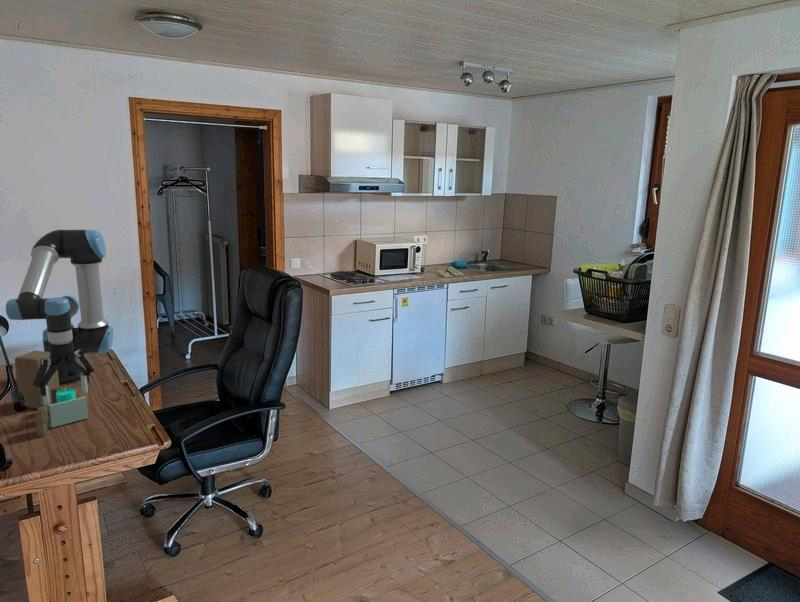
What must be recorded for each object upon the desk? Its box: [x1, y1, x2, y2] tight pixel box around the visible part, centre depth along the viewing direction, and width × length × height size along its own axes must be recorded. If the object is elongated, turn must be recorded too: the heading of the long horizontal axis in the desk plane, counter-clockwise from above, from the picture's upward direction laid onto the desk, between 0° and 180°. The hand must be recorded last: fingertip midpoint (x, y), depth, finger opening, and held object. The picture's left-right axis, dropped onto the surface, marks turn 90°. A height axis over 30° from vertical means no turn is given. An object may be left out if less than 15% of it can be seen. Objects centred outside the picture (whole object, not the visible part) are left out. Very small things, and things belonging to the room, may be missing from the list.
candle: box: [56, 387, 77, 403], centre depth 208 cm, size 6×6×12 cm
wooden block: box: [14, 350, 60, 410], centre depth 219 cm, size 10×10×20 cm
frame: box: [34, 385, 62, 438], centre depth 205 cm, size 25×2×10 cm, turn 18°
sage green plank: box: [47, 396, 89, 428], centre depth 204 cm, size 12×1×8 cm, turn 138°
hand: (66, 397), depth 208 cm, fingers open, 13 cm apart
